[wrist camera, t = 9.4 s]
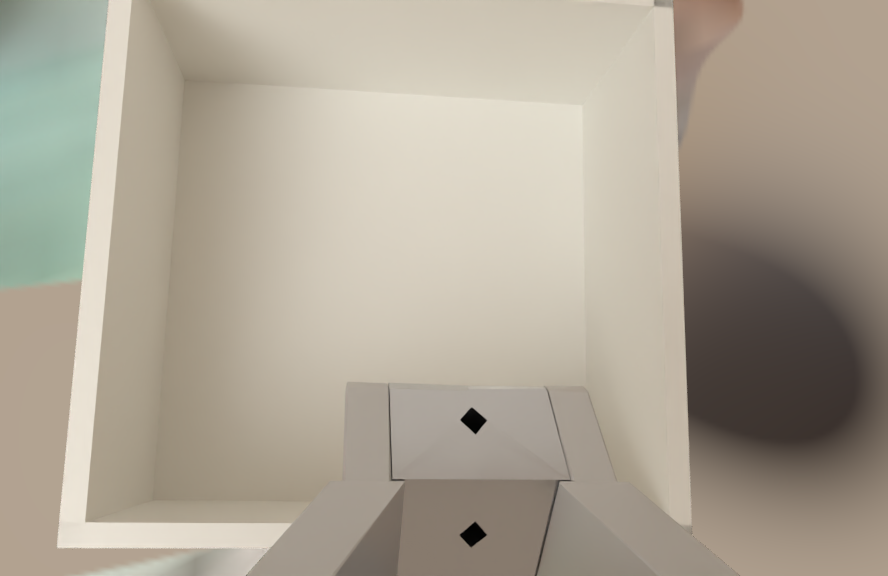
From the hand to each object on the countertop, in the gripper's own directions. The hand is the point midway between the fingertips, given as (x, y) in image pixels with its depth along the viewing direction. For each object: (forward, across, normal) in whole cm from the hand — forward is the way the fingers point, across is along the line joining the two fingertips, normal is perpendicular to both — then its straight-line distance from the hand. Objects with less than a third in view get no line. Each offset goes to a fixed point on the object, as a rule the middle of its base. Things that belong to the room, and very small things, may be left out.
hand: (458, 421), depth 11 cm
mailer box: (+17, 0, +10) cm, 20 cm away
